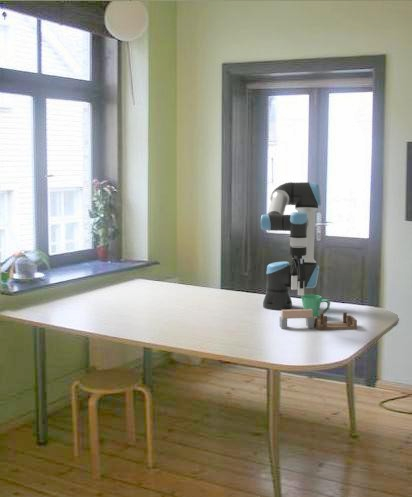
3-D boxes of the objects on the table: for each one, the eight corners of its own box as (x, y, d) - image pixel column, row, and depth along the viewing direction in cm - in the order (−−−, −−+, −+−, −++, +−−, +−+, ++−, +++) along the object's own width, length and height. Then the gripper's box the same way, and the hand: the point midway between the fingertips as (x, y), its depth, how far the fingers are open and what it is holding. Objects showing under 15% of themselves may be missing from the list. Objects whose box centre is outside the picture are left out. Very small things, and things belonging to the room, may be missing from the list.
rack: (313, 325, 336) (313, 312, 335) (351, 324, 337) (351, 311, 336) (318, 330, 327) (318, 317, 326) (356, 329, 328) (357, 316, 328)
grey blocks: (279, 326, 334) (279, 316, 333) (311, 325, 336) (311, 315, 335) (281, 328, 329) (281, 319, 329) (313, 327, 331) (314, 318, 330)
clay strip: (281, 317, 333) (281, 309, 332) (310, 316, 334) (311, 309, 333) (282, 318, 330) (282, 311, 329) (312, 317, 331) (312, 310, 330)
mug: (297, 317, 351) (298, 297, 350) (306, 313, 359) (306, 293, 358) (325, 321, 343) (326, 300, 342) (333, 317, 352) (334, 297, 350)
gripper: (284, 243, 339) (283, 287, 342) (296, 250, 314) (295, 298, 317) (300, 242, 340) (299, 287, 343) (313, 250, 315) (312, 297, 318)
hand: (297, 292), depth 330 cm, fingers open, 13 cm apart
